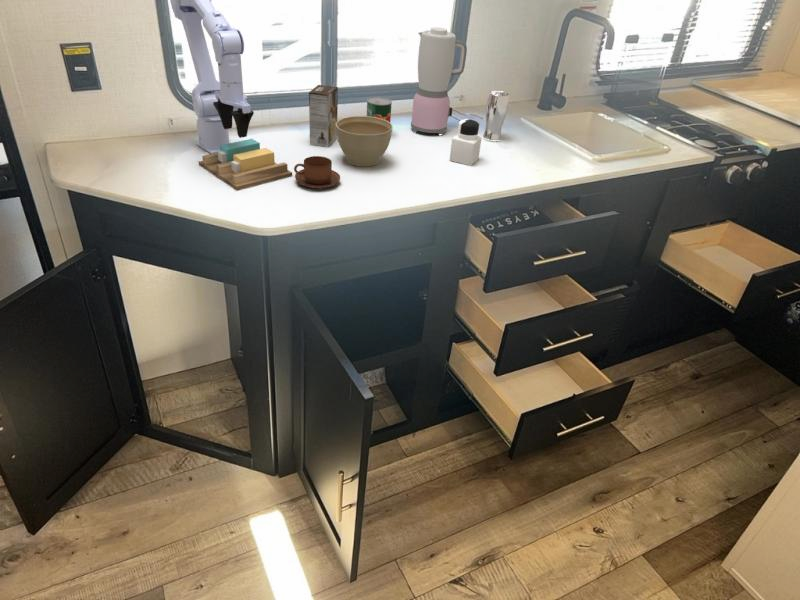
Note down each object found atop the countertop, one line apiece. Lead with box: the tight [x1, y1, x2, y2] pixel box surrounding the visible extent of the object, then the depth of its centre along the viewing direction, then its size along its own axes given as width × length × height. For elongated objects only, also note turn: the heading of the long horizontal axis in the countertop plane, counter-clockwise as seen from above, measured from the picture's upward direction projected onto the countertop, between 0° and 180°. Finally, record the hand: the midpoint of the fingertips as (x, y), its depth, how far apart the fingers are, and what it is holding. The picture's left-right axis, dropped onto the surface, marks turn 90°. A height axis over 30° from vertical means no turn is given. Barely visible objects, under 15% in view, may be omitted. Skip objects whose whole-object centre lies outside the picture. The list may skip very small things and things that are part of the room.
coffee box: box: [308, 84, 339, 148], centre depth 184 cm, size 9×6×16 cm
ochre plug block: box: [231, 147, 276, 174], centre depth 161 cm, size 4×11×5 cm, turn 133°
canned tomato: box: [366, 96, 393, 123], centre depth 194 cm, size 8×8×11 cm
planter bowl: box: [336, 115, 393, 167], centre depth 174 cm, size 16×16×11 cm
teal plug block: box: [218, 138, 261, 163], centre depth 166 cm, size 4×11×5 cm, turn 133°
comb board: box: [198, 153, 293, 191], centre depth 164 cm, size 20×17×3 cm
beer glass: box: [482, 89, 510, 141], centre depth 198 cm, size 7×7×15 cm
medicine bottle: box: [449, 118, 483, 166], centre depth 181 cm, size 7×7×12 cm
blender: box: [410, 27, 468, 135], centre depth 195 cm, size 16×12×32 cm
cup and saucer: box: [293, 155, 341, 189], centre depth 161 cm, size 12×12×6 cm
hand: (235, 132), depth 162 cm, fingers open, 7 cm apart
